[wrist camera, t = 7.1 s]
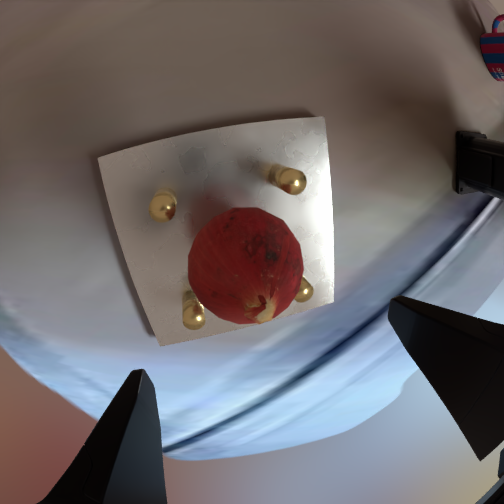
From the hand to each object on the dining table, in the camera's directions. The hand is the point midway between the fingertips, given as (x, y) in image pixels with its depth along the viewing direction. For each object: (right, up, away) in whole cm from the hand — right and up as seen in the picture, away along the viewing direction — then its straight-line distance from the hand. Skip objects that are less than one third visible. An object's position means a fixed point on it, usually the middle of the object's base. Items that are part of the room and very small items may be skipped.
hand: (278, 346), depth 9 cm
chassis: (-2, +4, +10) cm, 11 cm away
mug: (+30, +29, +8) cm, 42 cm away
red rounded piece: (-2, +4, +9) cm, 10 cm away
